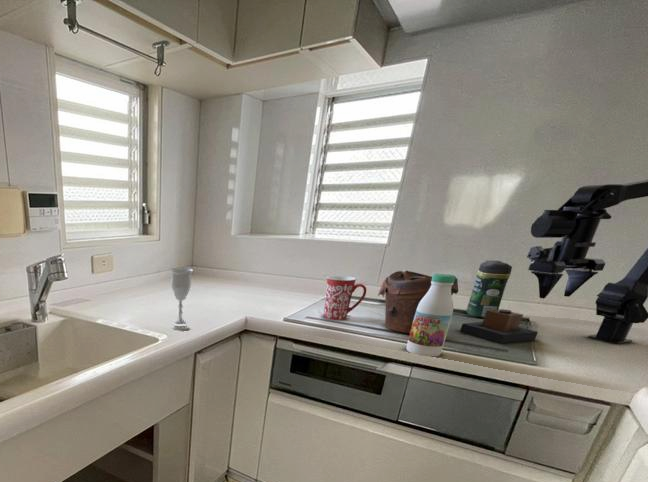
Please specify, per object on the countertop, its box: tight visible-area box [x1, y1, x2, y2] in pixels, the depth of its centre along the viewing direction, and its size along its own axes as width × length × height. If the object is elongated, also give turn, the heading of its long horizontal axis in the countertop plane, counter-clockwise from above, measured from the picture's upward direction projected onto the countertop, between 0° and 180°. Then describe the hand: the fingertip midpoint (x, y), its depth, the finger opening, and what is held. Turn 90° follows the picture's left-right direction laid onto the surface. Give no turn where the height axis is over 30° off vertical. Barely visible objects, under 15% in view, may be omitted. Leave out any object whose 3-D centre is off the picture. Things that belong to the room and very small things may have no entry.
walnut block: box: [482, 308, 524, 332], centre depth 117 cm, size 5×6×8 cm
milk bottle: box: [406, 273, 456, 358], centre depth 101 cm, size 8×8×20 cm
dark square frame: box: [459, 321, 539, 344], centre depth 118 cm, size 12×12×2 cm
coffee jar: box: [466, 260, 513, 319], centre depth 136 cm, size 10×8×19 cm
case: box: [377, 269, 459, 335], centre depth 122 cm, size 18×20×18 cm
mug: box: [323, 275, 367, 321], centre depth 135 cm, size 13×9×14 cm
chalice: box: [169, 267, 194, 331], centre depth 124 cm, size 7×7×18 cm
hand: (554, 297), depth 111 cm, fingers open, 9 cm apart
